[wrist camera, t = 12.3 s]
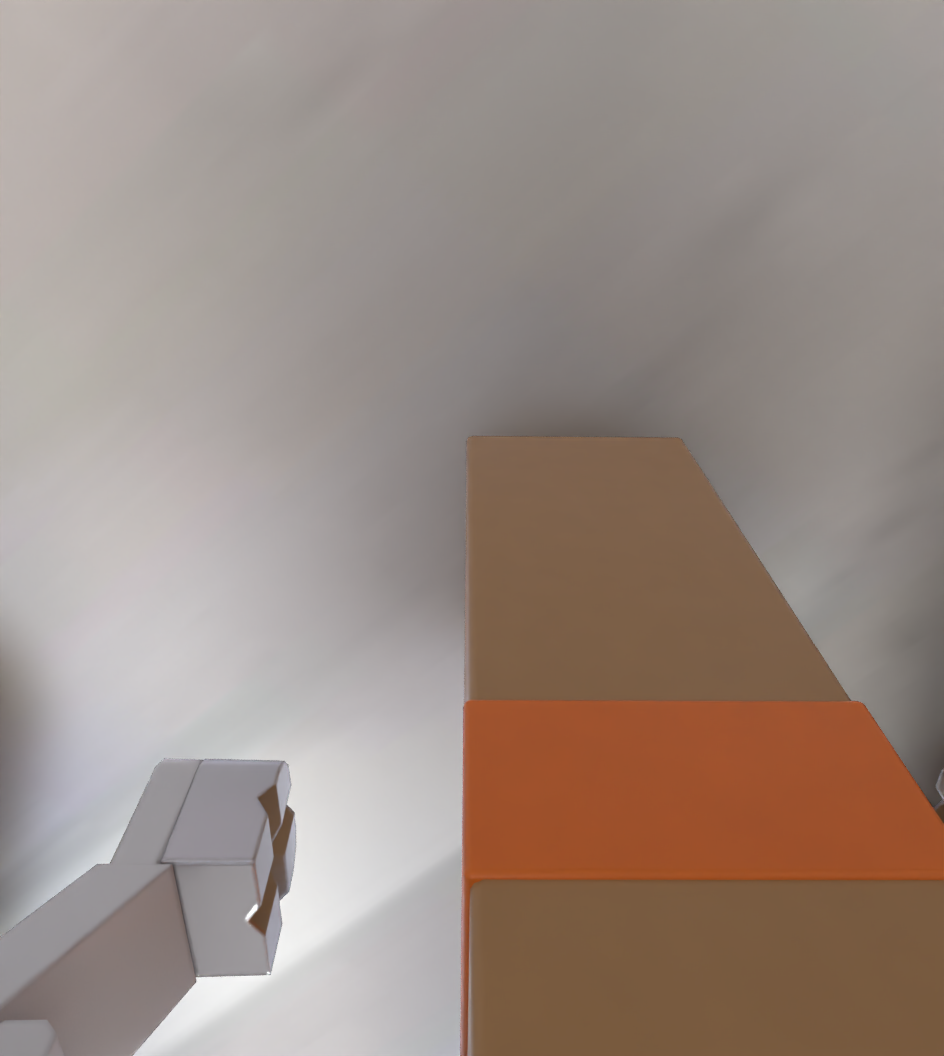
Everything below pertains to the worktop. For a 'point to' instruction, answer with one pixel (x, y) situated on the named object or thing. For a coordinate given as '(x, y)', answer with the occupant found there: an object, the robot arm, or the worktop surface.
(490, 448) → the block
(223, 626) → the worktop surface
